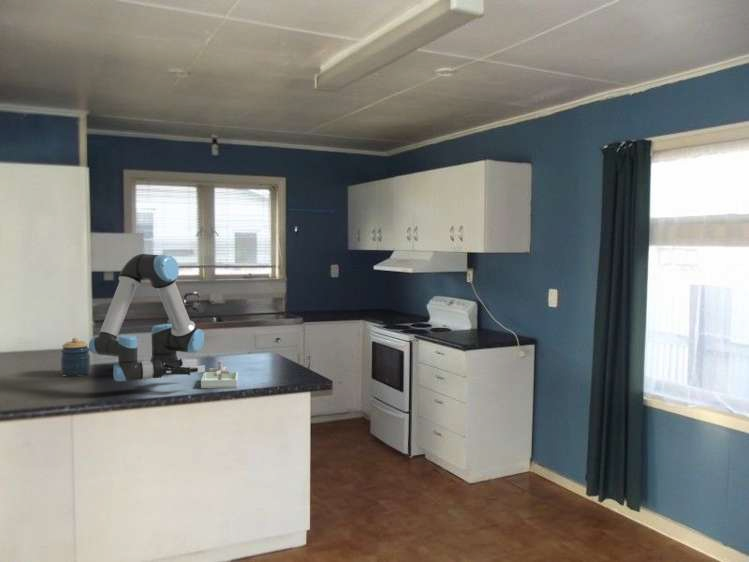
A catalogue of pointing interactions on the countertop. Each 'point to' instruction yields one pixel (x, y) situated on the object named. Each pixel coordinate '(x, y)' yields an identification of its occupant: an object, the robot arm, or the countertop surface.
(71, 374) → the canister
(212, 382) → the tray
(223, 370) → the pipe connector
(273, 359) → the countertop surface
